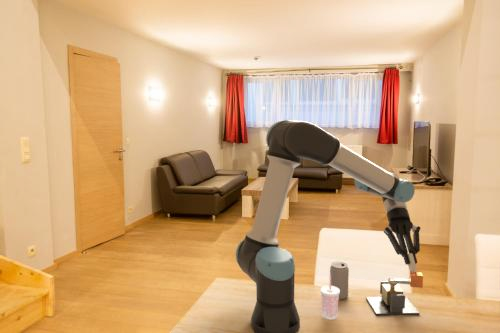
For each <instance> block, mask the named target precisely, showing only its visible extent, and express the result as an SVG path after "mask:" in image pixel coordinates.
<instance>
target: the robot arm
mask: <svg viewBox="0 0 500 333" xmlns="http://www.w3.org/2000/svg"><path fill="white" fill-rule="evenodd" d="M265 140H266V145H267V147H268V150H267V154H266V157H267V159H268V161H269V163H268V167H267V171H266V175H265V178H264V182H263V186H262V190H261V194H260V198H259V202H258V206H257V209H256V212H255V216H254V220H253V223H252V224H253V225H252V228H251V230H250V231H249V230H248V231H247V232H246V234H245V236H244V239H243V240H242V241H240V242H239V244H238V245H237V248H236V250H235V260H236V263H237V265H238V266H239V268H240V269H241V270H242V272H243V273H245V274H246V275H247V276H248V277H249V278H250V279H251V280H252V281H253V282H254V283H255V286H256V288H255V289H256V302H255V305H254V308H253V311H252V314H251V318H250V319H251V320H250V324H251V326H250V327H251V328H252V330H253V332H254V333H298V332H299V330H300V328H301V327H300V326H301V319H300V315H299V312H298V309H297V307H296V306H297V305H296V303H295V272H296V266H295V259H294V256H293V254H292V253H291V252H290V251H288V250H287V249H285V248H280V247H279V244H280V241H279V239H278V236H277V234H278V230H279V227H280V223H281V220H282V217H283V212H284V209H285V204H286V201H287V197H288V194H289V190H290V186H291V182H292V180H293V175H294V171H295V168H297V167H299V166H300V165H301V163H302V159H304V160H309V161H312V162H315V163H316V164H320V165H321V166H330V167H332V168H333V169H335V170H337V171H339V172H341V173H343V174H345V175H346V176H348V177H350V178H352V179H354V186H355V188H356V189H357V190H359V191H361V192H364V193H367V194H372V195H375V196H378V197H381V199H382V202H383V206H384V210H385V213H386V217H387V221H388V226H386V227H385V228H384V230H383V233H384V234H385V235H386V236H387V237H388V240H389V241H390V243H391V245H392V247H393V249H394V251H395V253H396V254H397V255H399V256H400V255H401V257H402V258H403V260H404V261H403V262H404V263H405V265H408V270H409V272H410V271H411V272H418V267H417V263H418V260H417V256H416V255H417V254H419V252H420V250H421V248H420V244H421V243H420V231H421V229H422V228H421V227H420V226H419V225H418V226H415V224H413V222H412V221H411V217H410V214H409V211H408V207H407V203H408V202H409V201H411V200H412V198H413V197H414V195H415V193H416V192H415V185H414V183H413V182H411V181H409V180H407V179H402V178H399V177H398V175H396V174H395V173H394V172H389V171H387V170H386V169H384V168H382V167H380V166H379V165H377V164H376V163H373V162H372V161H371V160H368V159H367V158H365V157H363V156H362V155H361V154H358V153H357V152H355V151H353V150H352V149H350V148H348V147H346V146H345V145H343V144H342V143H341V141H340V139H339V138H338V137H336V136H334V135H333V134H331V133H330V132H328V131H326V130H325V129H323V128H321V127H320V126H319V125H317V124H314V123H312V122H310V121H305V120H291V119H290V120H289V119H285V120H280V121H276V122H274V123H273V124H272V125H271V126H270V128H269V129H268V131H267V133H266V138H265ZM411 231H412V233H413V235H412V236H413V238H412V236H411ZM395 235H396V236H395ZM412 239H413V240H412Z"/></svg>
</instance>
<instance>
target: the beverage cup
mask: <svg viewBox="0 0 500 333" xmlns="http://www.w3.org/2000/svg"><path fill="white" fill-rule="evenodd" d="M320 293H321V308H322V309H321V310H322V317H323V318H324V319H326V320H330V321H331V320H336V319H337V318H338V309H339V294H340V290H339V288H337V287H335V286H331V275H330V274H329V285H323V286H322V287H321V288H320Z"/></svg>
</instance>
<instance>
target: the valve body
mask: <svg viewBox="0 0 500 333" xmlns="http://www.w3.org/2000/svg"><path fill="white" fill-rule="evenodd" d="M379 286H380V287H379V289H380V290H379V294H380V295H381V296H365V299H366V301H367V303H368V305H369V307H370V309H371V310H372V312H373V313H374V314H375V316H376V317H383V316H384V317H385V316H386V317H387V316H388V317H389V316H391V317H394V316H420V313H421V312H420V311H419V310H418V309H417V308H416V306H415V305H414V304H413V303H412V302H411V301H410V300H409V299H408V297H407V296H406V295H405V294H404V290H403V289H402V288H401V287H400V285H399V283H397V285H396V286H391V285H389V284H388V280H385V281H384V280H383V281H382V280H381V281H380V284H379Z"/></svg>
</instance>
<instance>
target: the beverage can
mask: <svg viewBox="0 0 500 333" xmlns="http://www.w3.org/2000/svg"><path fill="white" fill-rule="evenodd" d="M349 268H350V267H349V266H348V264H347V263H346V262H343V261H333V262H332V263H331V265H330V268H329V276H330V275H331V286H335V287H337V288H339V290H340V294H339V299H338V301H339V300H341V301H342V300H345V299H346V298H348V296H349V271H350V269H349Z"/></svg>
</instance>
